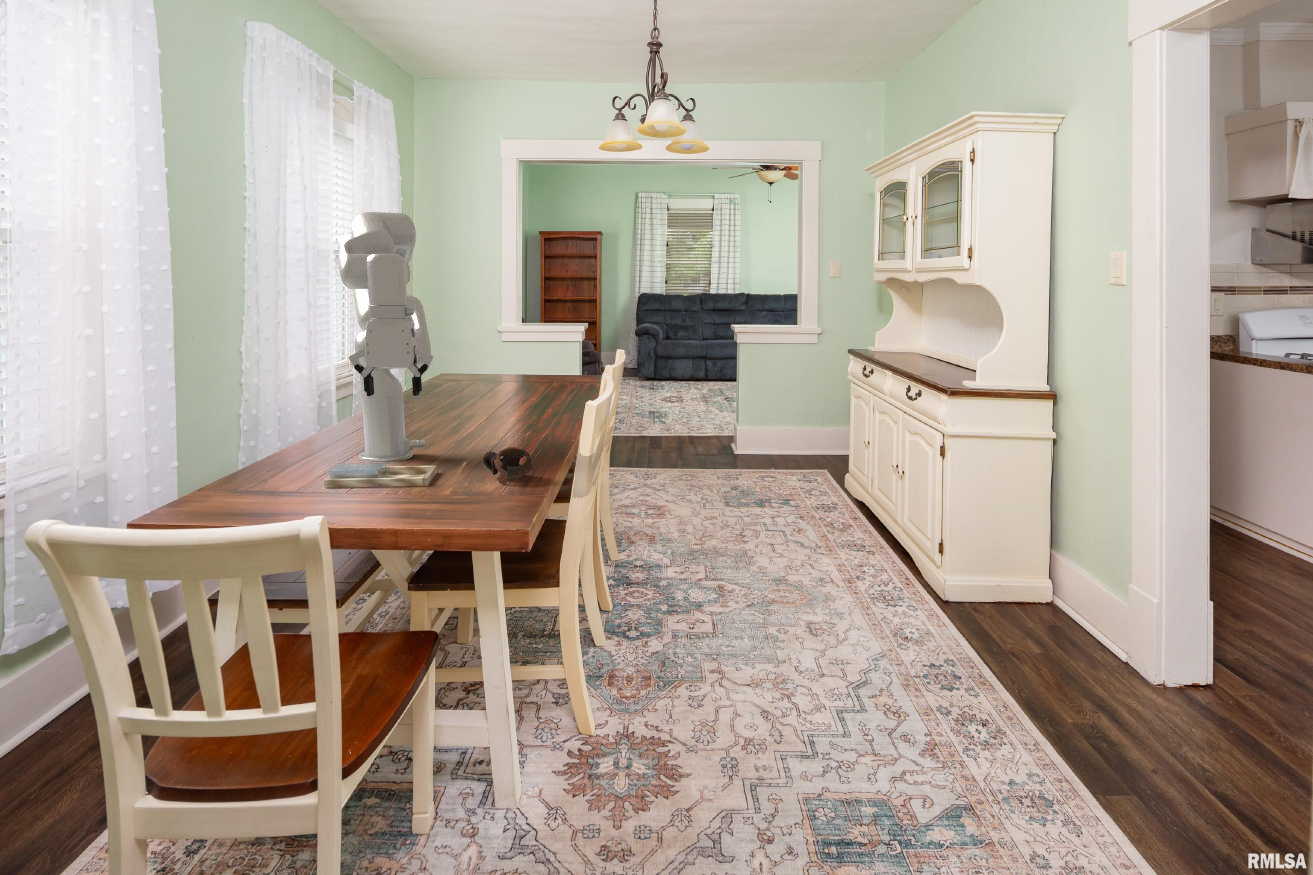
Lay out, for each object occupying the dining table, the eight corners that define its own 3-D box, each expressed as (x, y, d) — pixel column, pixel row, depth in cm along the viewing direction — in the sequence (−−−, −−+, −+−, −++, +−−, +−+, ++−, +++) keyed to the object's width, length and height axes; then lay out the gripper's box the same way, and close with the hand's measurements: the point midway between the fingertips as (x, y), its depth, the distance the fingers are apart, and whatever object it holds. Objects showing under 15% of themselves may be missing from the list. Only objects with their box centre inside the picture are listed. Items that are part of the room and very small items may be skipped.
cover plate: (386, 475, 180) (385, 462, 179) (379, 483, 173) (378, 469, 172) (339, 476, 179) (338, 463, 178) (330, 484, 172) (329, 470, 172)
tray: (436, 475, 183) (436, 465, 183) (427, 488, 172) (426, 478, 171) (340, 476, 181) (340, 467, 181) (324, 490, 170) (323, 480, 169)
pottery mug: (539, 476, 185) (540, 450, 179) (521, 504, 178) (523, 477, 172) (490, 461, 186) (490, 434, 181) (471, 487, 179) (471, 460, 174)
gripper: (434, 313, 174) (438, 393, 177) (352, 313, 173) (358, 393, 176) (426, 314, 167) (430, 397, 170) (340, 314, 166) (346, 397, 169)
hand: (393, 395), depth 173 cm, fingers open, 9 cm apart
